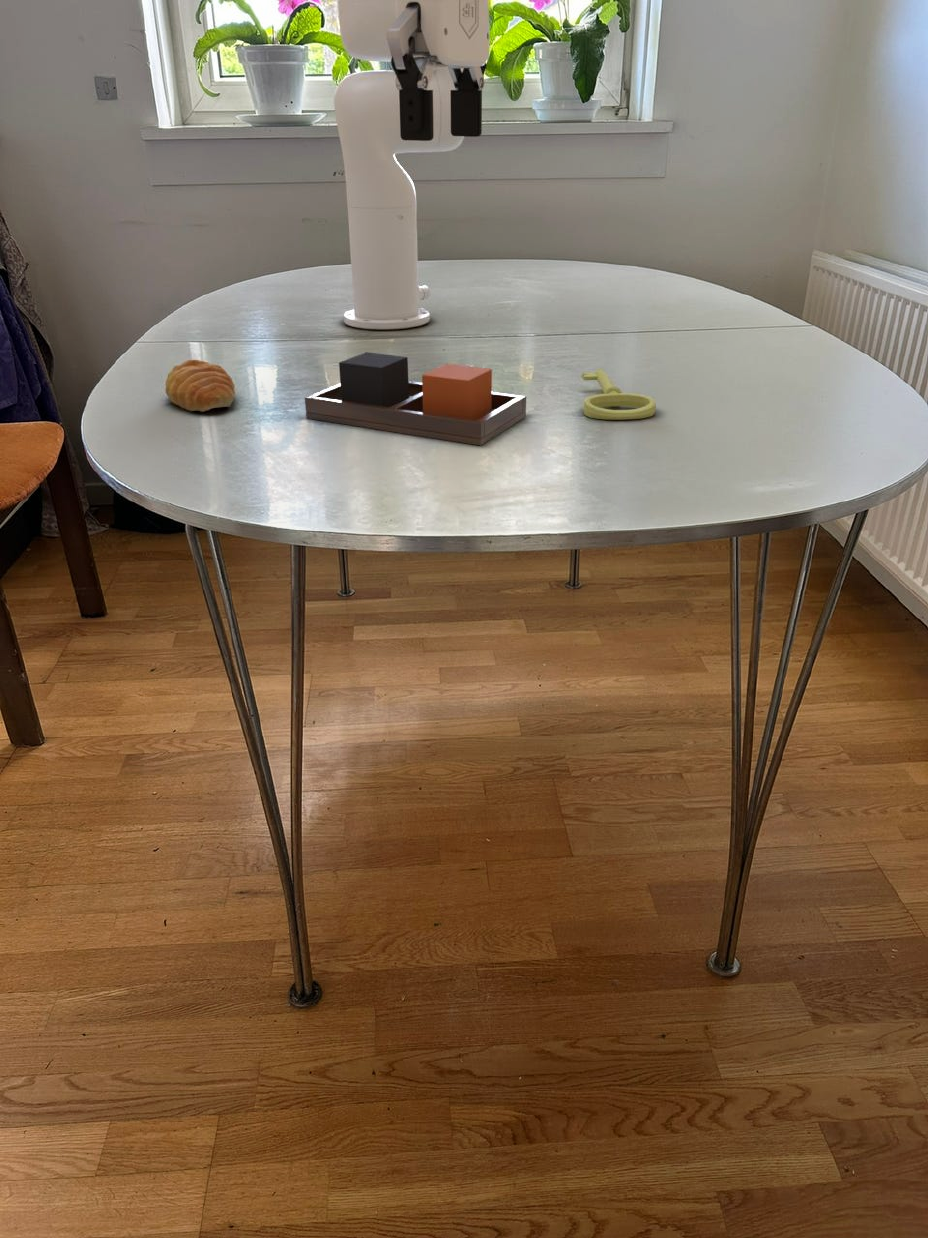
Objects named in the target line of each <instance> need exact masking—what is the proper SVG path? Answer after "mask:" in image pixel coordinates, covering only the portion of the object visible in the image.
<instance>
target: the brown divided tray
mask: <svg viewBox="0 0 928 1238" xmlns="http://www.w3.org/2000/svg"><path fill="white" fill-rule="evenodd" d="M408 383H409V398H408V399H406V400H404V401H402V402H400V403H398V404H396V405H394V406H392V407H390V408H389V407H382V406H375V405H368V404H361V403H355V402H348V401H342V399H341V385H340V382H339V383H337V384H335V385H332V386H330V387H327V388H324V389H323V390H320V391H317V392H316V393H312V394H310V395H308V396H305V397H304V407H305V418H306V419H310V420H315V421H322V422H329V423H335V424H342V425H348V426H354V427H359V428H365V429H374V430H378V431H384V432H385V431H386V432H393V433H398V434H405V435H411V436H416V437H417V436H418V437H425V438H429V439H435V440H442V441H449V442H456V443H460V444H461V443H462V444H469V445H475V446H482V445H484V444H485V443H487V442H489V441H490V440H492V439H493V438H495V437H497V436H499V434H501V433H503V432H505V431H506V430H507V429H510V428H511V427H513V426H514V425H515V424H517V423H518V422H521V421H522V420H523V419H525V418H526V417H527V396H526V395H519V394H517V395H516V394H512V393H504V392H497V391H494V392H493V391H492V401H491V412H490V413H489V414H487V415H485V416H484V417H482V418H480V419H478V420H471V419H464V418H457V417H450V416H444V415H437V414H430V413H423V394H422V382H420V381H411V380H408Z"/></svg>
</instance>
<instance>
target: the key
mask: <svg viewBox="0 0 928 1238" xmlns="http://www.w3.org/2000/svg"><path fill="white" fill-rule="evenodd" d="M581 378H582V380H583V381H597V383H598V384H599V386H600V388H601V390H602V392H603V393H599V394H594V395H590V396H587V397H586V398H585V399H584V402H583V405H582V409H583V415H585V416H586V417H588V418H591V419H597V420H611V421H613V420H617V421H618V420H638V419H645V418H646V419H647V418H650V417H653V416H654V414H655V412H656V409H657V405H656V401H655V399H654V398H652V397H651V396H647V395H644V394H639V393H628V392H627V393H624V392H622V390H621V388H620V387H617V386H615V385H613V383H612V381H611V379H610V377H609V376H608V374H607V373H606V370H605V369H603V368H598V369H596V371H595V372H581ZM609 407H629V408H631V407H632V408H634V409H621V410H620V409H609ZM607 408H608V409H607Z"/></svg>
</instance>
